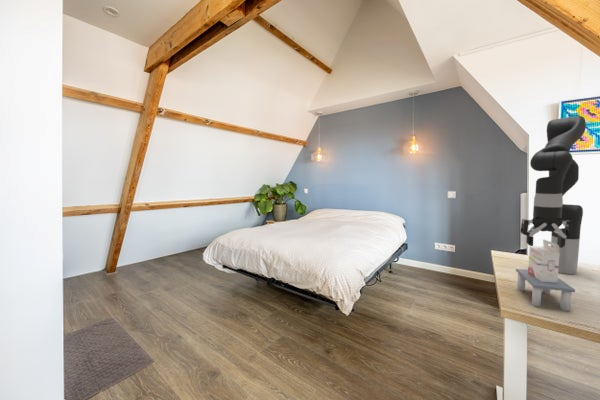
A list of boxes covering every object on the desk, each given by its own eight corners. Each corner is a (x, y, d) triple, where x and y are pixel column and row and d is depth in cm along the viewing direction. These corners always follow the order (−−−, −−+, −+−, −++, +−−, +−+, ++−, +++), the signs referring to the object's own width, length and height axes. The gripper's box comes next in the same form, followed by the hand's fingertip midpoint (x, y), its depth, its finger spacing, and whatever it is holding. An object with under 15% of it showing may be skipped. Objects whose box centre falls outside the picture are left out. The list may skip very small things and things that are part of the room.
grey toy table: (515, 287, 103) (516, 268, 102) (548, 291, 99) (550, 272, 98) (532, 306, 89) (534, 284, 88) (573, 312, 84) (575, 289, 83)
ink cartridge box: (526, 273, 98) (529, 238, 96) (541, 273, 96) (543, 238, 95) (542, 282, 89) (544, 244, 88) (558, 283, 88) (561, 245, 87)
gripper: (567, 203, 90) (564, 244, 92) (519, 203, 96) (517, 242, 98) (580, 206, 83) (576, 251, 85) (527, 206, 89) (525, 247, 91)
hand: (544, 246), depth 91 cm, fingers open, 8 cm apart
